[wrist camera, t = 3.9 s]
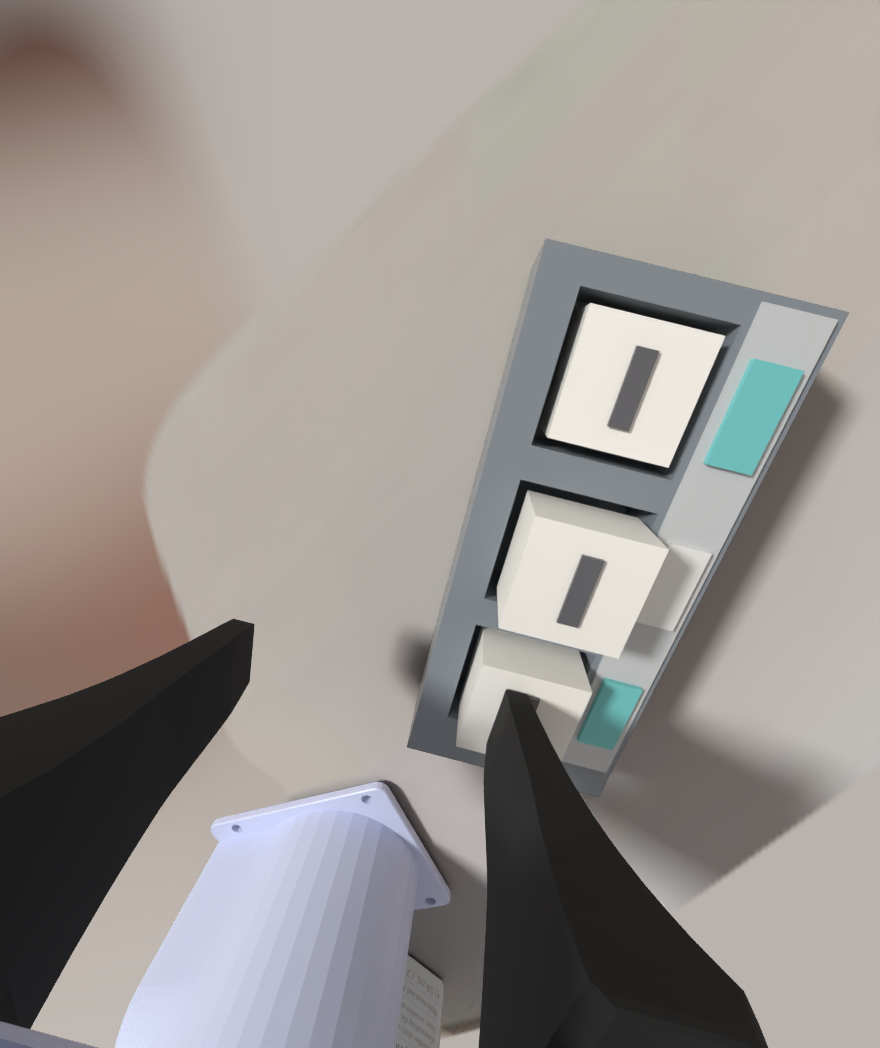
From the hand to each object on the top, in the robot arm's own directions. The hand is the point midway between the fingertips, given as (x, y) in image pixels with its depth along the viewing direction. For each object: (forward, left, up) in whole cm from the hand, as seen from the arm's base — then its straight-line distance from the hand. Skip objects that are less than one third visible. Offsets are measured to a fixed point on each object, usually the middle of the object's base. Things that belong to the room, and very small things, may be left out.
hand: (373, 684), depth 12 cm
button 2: (+9, +5, -3) cm, 10 cm away
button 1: (+3, -3, -2) cm, 5 cm away
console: (+6, 0, -4) cm, 8 cm away
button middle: (+6, +1, -2) cm, 6 cm away
